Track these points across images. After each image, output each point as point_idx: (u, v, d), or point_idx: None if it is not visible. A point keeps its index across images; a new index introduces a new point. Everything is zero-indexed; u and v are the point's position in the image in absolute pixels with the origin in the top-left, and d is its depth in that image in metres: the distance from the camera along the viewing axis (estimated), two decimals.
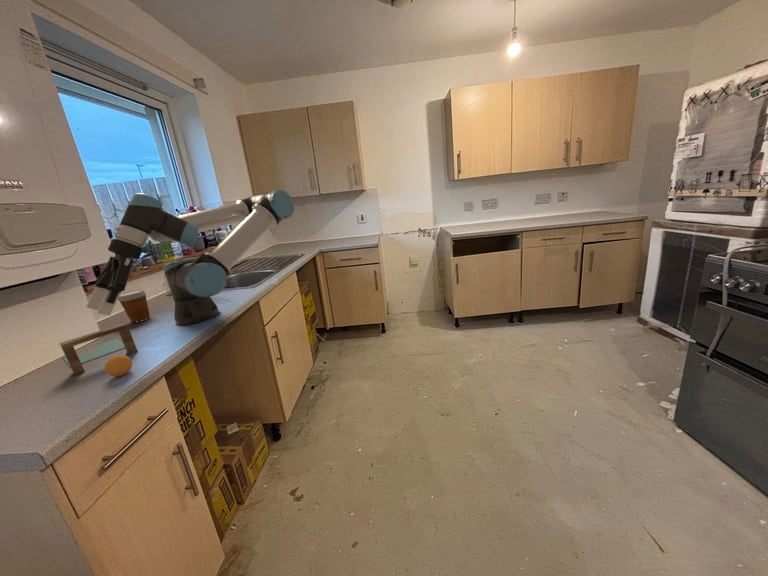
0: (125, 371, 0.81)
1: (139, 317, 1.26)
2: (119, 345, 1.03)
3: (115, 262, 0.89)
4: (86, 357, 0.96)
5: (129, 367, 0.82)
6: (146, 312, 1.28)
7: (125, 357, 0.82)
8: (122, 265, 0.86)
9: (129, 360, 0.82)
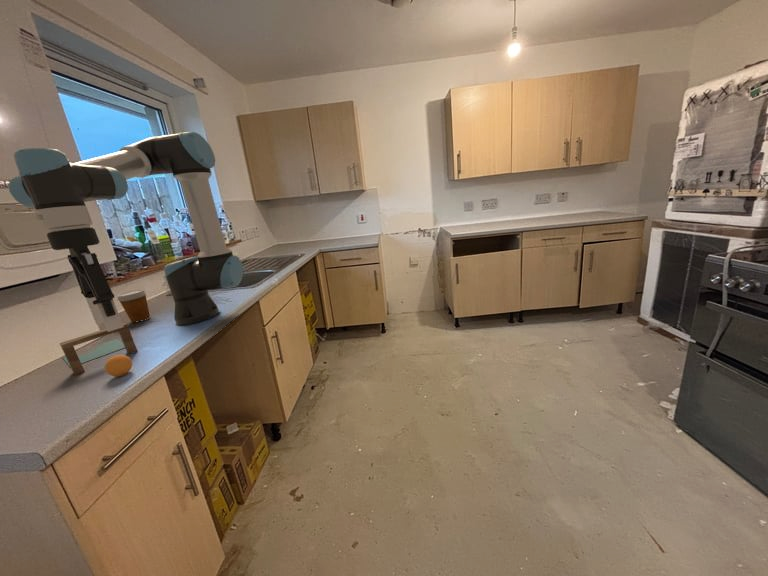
0: (125, 371, 0.81)
1: (139, 317, 1.26)
2: (119, 345, 1.03)
3: (76, 262, 0.65)
4: (86, 357, 0.96)
5: (129, 367, 0.82)
6: (146, 312, 1.28)
7: (125, 357, 0.82)
8: (87, 267, 0.63)
9: (129, 360, 0.82)
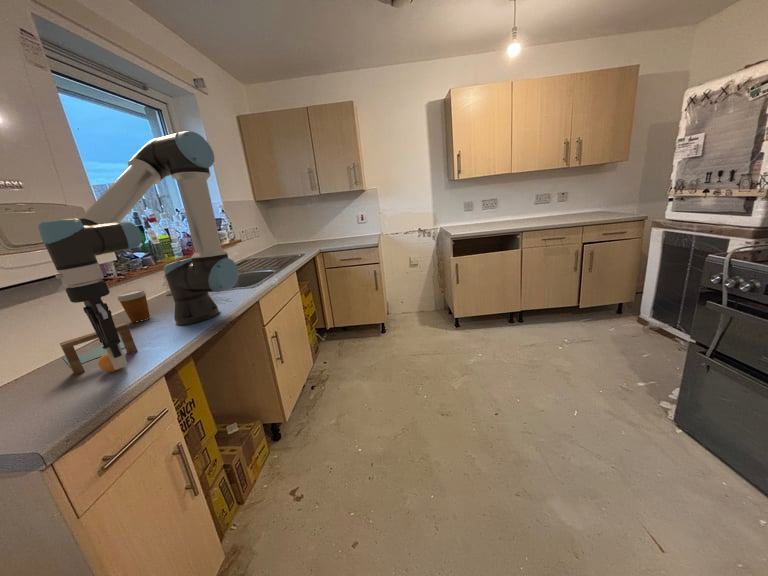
0: None
1: (139, 317, 1.26)
2: None
3: (91, 313, 0.77)
4: (86, 357, 0.96)
5: None
6: (146, 312, 1.28)
7: None
8: (102, 322, 0.76)
9: None
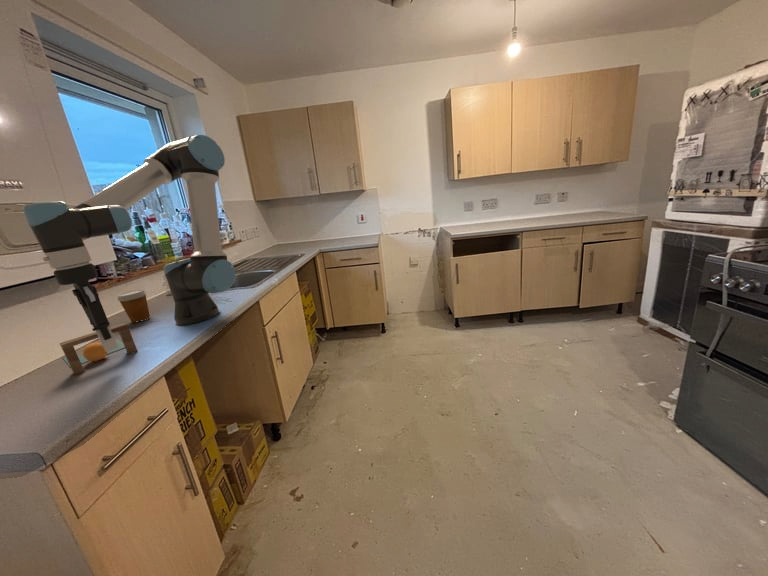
0: (101, 356, 0.92)
1: (139, 317, 1.26)
2: (119, 345, 1.03)
3: (80, 295, 0.78)
4: None
5: (104, 353, 0.93)
6: (146, 312, 1.28)
7: (101, 344, 0.93)
8: (90, 304, 0.77)
9: None
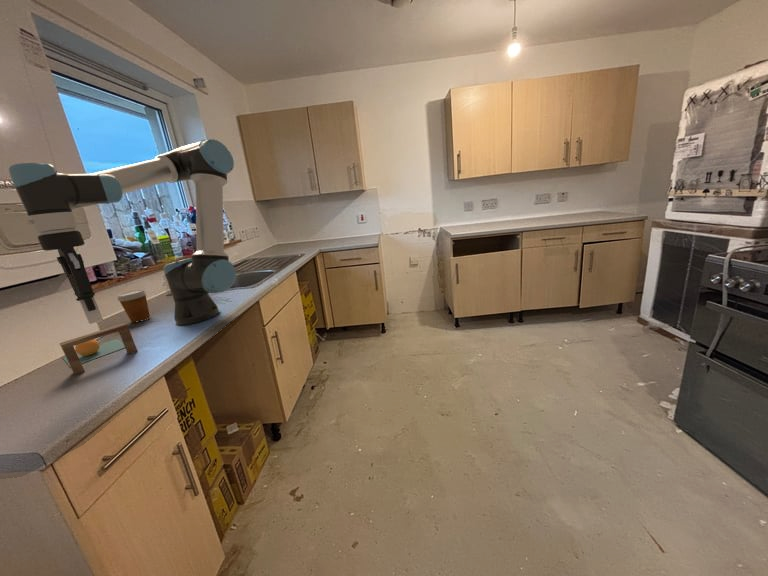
0: None
1: (139, 317, 1.26)
2: (119, 345, 1.03)
3: (64, 262, 0.75)
4: (86, 357, 0.96)
5: None
6: (146, 312, 1.28)
7: None
8: (74, 271, 0.74)
9: None
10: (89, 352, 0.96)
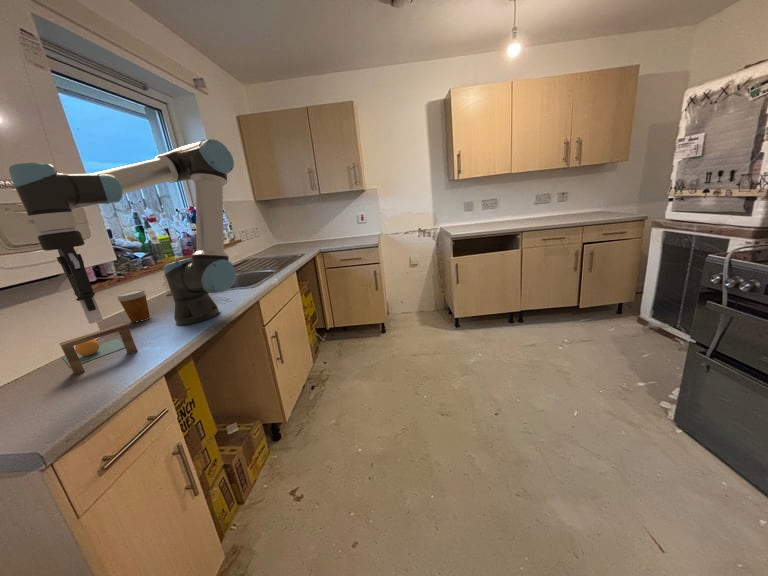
0: None
1: (139, 317, 1.26)
2: (119, 345, 1.03)
3: (64, 262, 0.75)
4: (86, 357, 0.96)
5: None
6: (146, 312, 1.28)
7: None
8: (74, 271, 0.74)
9: None
10: (89, 352, 0.96)
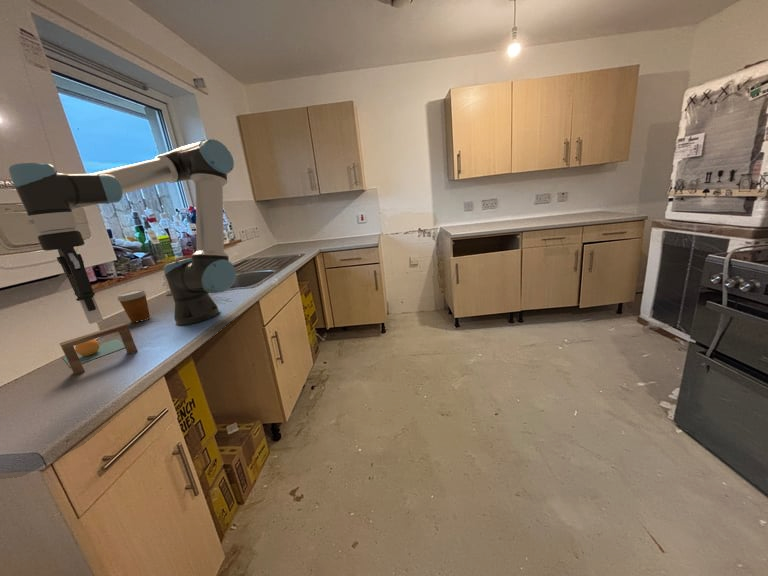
0: None
1: (139, 317, 1.26)
2: (119, 345, 1.03)
3: (64, 262, 0.75)
4: (86, 357, 0.96)
5: None
6: (146, 312, 1.28)
7: None
8: (74, 271, 0.74)
9: None
10: (89, 352, 0.96)
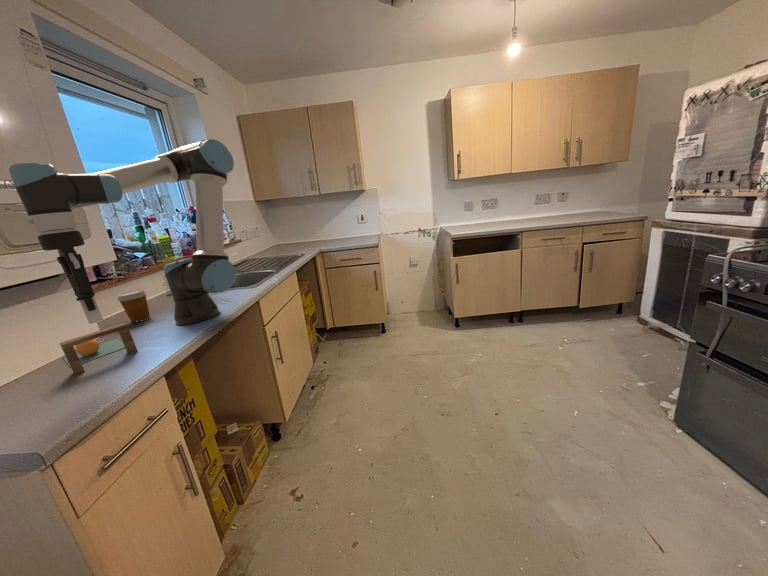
0: None
1: (139, 317, 1.26)
2: (119, 345, 1.03)
3: (64, 262, 0.75)
4: (86, 357, 0.96)
5: None
6: (146, 312, 1.28)
7: None
8: (74, 271, 0.74)
9: None
10: (89, 352, 0.96)
